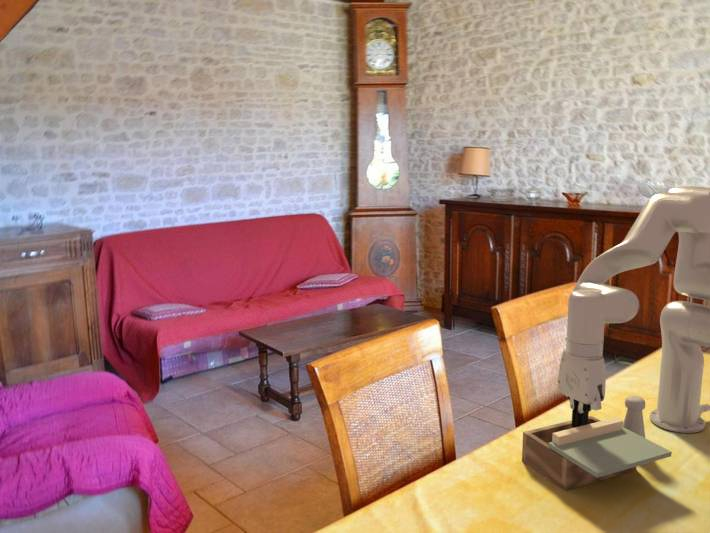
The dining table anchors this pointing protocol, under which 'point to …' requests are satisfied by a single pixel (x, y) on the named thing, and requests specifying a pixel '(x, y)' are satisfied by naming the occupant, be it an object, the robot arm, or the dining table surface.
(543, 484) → the dining table surface
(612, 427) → the lid
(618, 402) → the dining table surface
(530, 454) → the toolbox
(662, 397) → the robot arm
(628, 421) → the salt shaker
